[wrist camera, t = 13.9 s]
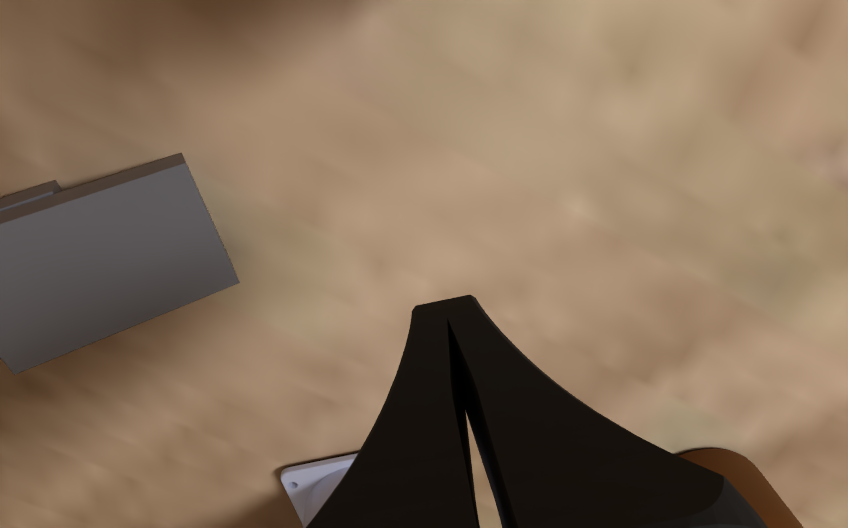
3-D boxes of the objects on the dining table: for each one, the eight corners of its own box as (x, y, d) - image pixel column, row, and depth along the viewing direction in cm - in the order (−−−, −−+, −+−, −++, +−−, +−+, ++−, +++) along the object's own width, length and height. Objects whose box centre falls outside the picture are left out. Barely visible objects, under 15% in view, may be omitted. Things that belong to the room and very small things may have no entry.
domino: (239, 282, 21) (14, 374, 19) (233, 266, 22) (21, 350, 20) (185, 162, 19) (-84, 251, 16) (181, 152, 20) (-69, 233, 17)
